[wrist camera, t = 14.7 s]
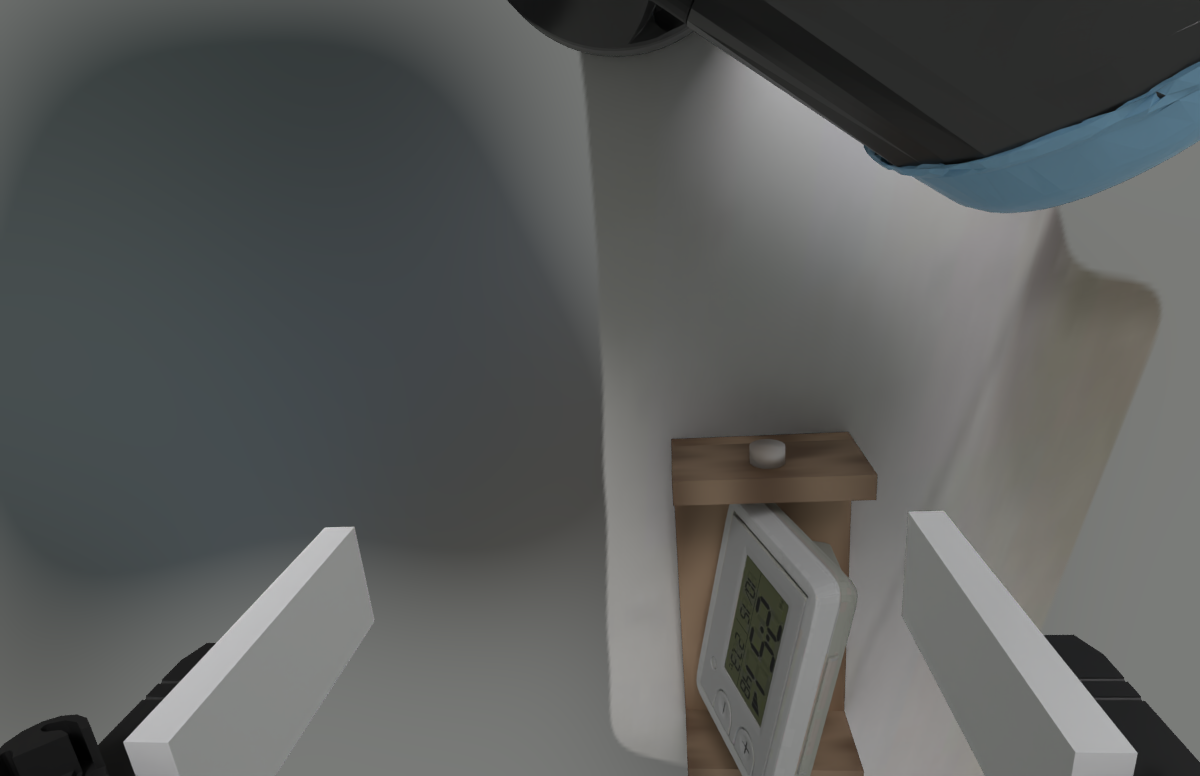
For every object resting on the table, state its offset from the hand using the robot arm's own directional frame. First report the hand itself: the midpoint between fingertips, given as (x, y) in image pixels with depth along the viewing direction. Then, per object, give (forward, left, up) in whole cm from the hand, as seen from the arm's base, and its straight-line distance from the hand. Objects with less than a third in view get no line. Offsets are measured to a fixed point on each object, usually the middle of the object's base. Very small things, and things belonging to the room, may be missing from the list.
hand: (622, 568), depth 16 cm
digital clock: (+14, +13, -26) cm, 32 cm away
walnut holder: (+14, +14, -27) cm, 33 cm away
